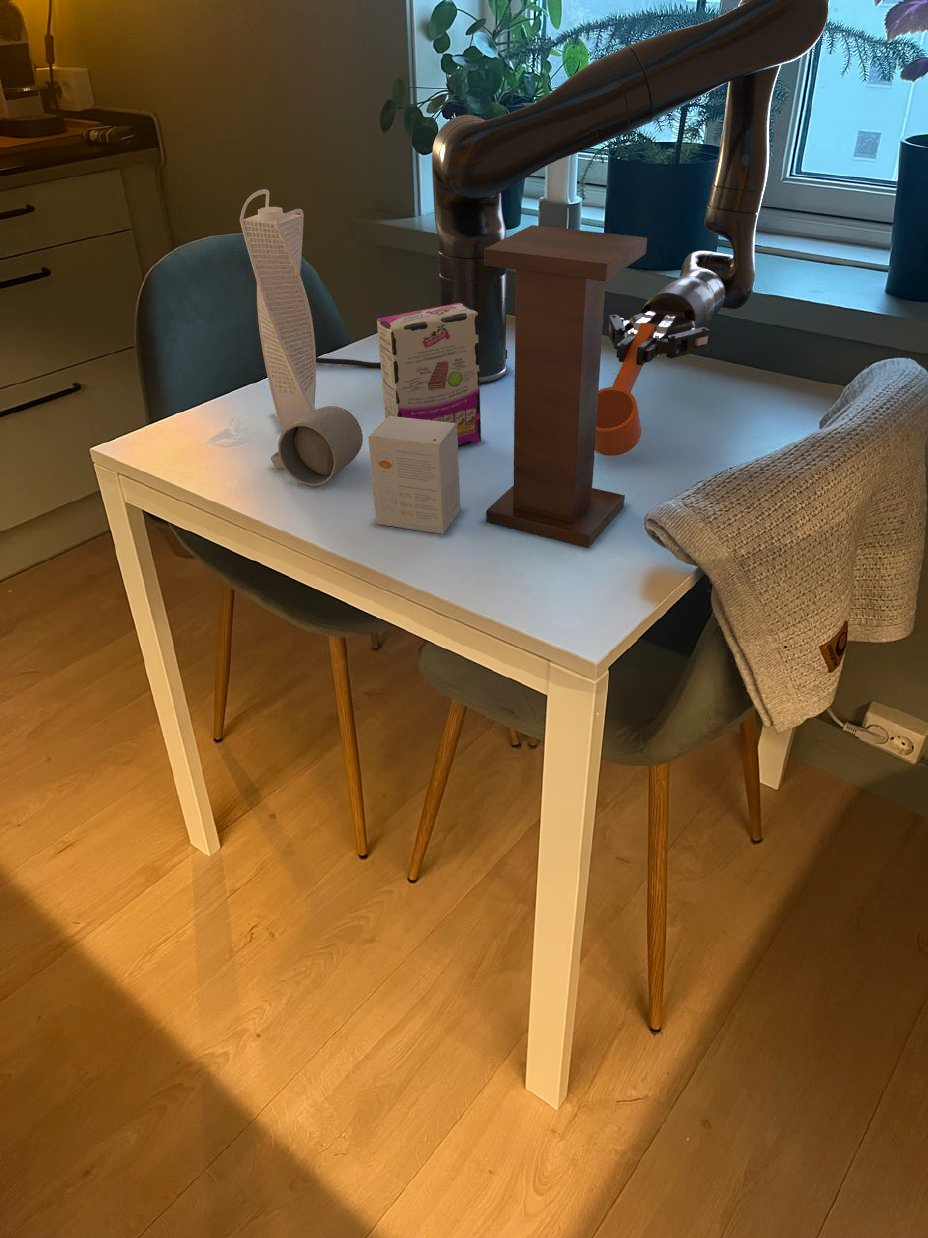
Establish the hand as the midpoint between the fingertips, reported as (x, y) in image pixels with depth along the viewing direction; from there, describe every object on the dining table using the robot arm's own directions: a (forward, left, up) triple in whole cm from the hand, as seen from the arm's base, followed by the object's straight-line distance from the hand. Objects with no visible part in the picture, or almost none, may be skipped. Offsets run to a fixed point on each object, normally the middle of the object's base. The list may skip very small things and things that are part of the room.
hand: (630, 355), depth 112 cm
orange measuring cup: (0, +1, -6) cm, 6 cm away
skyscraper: (-43, -5, -11) cm, 44 cm away
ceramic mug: (-34, -18, -11) cm, 40 cm away
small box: (-18, -25, -11) cm, 33 cm away
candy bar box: (-23, -7, -11) cm, 26 cm away
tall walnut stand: (-4, -20, -11) cm, 23 cm away
